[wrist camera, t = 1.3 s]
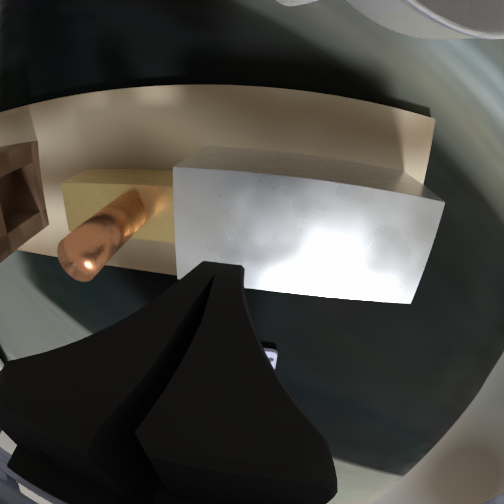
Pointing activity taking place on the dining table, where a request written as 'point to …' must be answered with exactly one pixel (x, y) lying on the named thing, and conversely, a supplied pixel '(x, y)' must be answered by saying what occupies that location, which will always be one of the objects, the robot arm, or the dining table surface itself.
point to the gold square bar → (113, 215)
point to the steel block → (304, 222)
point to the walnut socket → (20, 196)
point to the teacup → (432, 17)
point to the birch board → (200, 140)
